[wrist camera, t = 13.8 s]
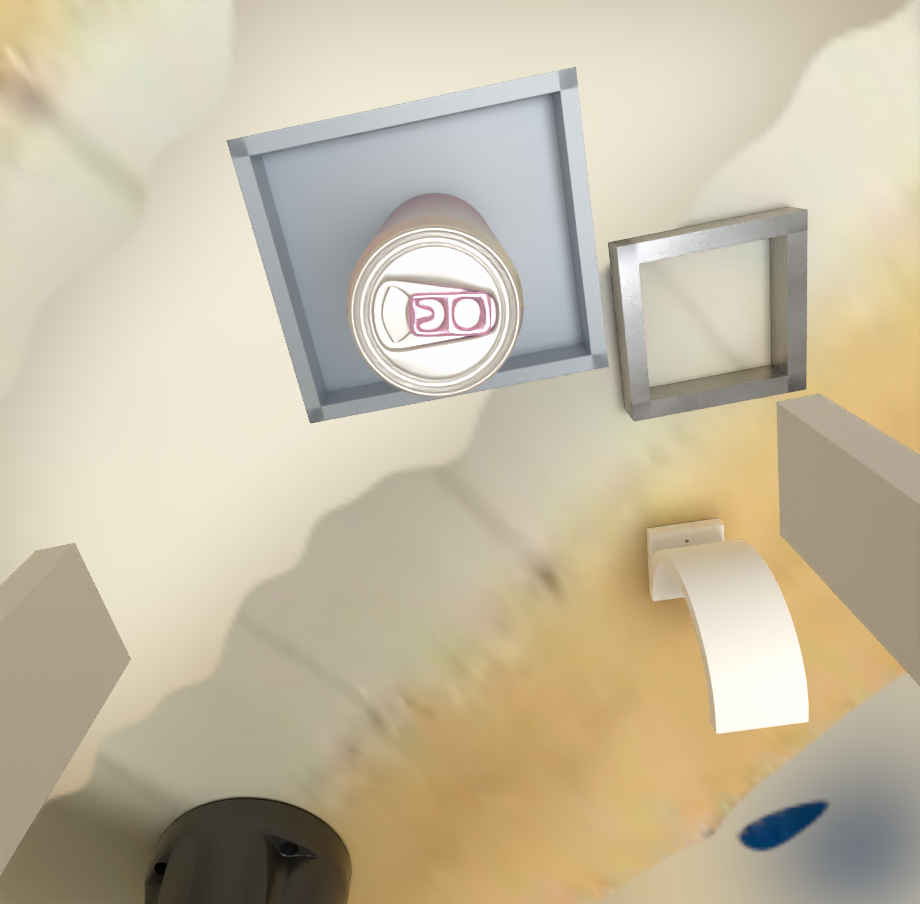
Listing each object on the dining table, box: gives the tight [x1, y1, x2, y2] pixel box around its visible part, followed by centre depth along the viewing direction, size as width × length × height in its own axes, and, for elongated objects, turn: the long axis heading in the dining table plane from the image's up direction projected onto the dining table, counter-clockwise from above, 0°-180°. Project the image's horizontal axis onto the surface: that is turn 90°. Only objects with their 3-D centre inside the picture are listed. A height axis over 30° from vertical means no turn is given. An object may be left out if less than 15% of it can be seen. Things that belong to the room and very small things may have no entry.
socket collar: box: [608, 207, 807, 421], centre depth 38 cm, size 10×10×2 cm
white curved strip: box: [646, 518, 808, 734], centre depth 39 cm, size 5×6×12 cm
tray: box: [227, 67, 609, 423], centre depth 36 cm, size 16×14×3 cm
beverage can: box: [347, 193, 524, 397], centre depth 30 cm, size 6×6×15 cm
